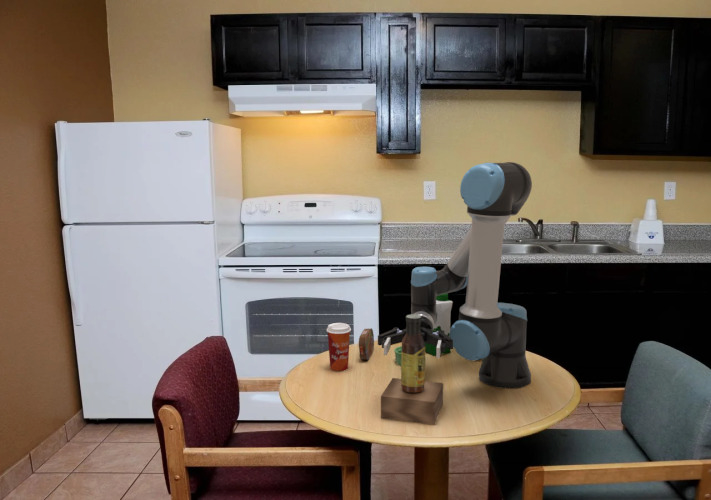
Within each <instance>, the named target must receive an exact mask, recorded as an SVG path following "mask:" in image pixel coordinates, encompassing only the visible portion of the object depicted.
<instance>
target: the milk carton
mask: <svg viewBox="0 0 711 500" xmlns="http://www.w3.org/2000/svg"><path fill="white" fill-rule="evenodd" d="M453 303H454V302H453V301H452V300H450V299H449V293H446V294H442V295H439V296H436V312H437V321H436V323H435V325H434V329H433V332H437V331H438V330H443V333H445V334H446V335H447V336H449V337H450V329H451V311H452V308H453ZM436 348H437V347H436V346H434V345H432V344H426V343H425V353H427V354H430V355H431V356H433V357H436ZM451 350H452V349H448V348H446V349H445V352H441V353H440V355H444V354H445V355H446V354H450V353H452V352H451Z"/></svg>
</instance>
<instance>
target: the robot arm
mask: <svg viewBox="0 0 711 500" xmlns="http://www.w3.org/2000/svg"><path fill="white" fill-rule="evenodd" d="M459 187H460V188H459V190H460V191H459V192H460V197H461V199H463V203H464V204H465V205H466V206H467V208H466V209H467V210H466V213H467V214H468V216H469V217H470V218H471V228H470V229H469V230H468V232H467V233H466V235H465V237H463V239H462V240H461V242H460V244H459V245H458V246H457V248H456V250H455V251H454V252H453V253H452V255H451V257H450V259H448V261H447V263H446V264H445V265H444V267H443V268H441V270H436V268H435V267H431V266H417V267H415V268H413V269H412V271H411V280H410V284H411V285H410V288H411V289H410V298H411V305H410V306H411V307H410V311H411V313H410V315H412V314H415V315H420V316H421V335H422V338H423V341H424V343H426V344H432V345H434V346H436V347H437V348H436V355H435V357H436V359H440V358H441V357H440V356H441V354H440V353H441V352H445V349H446V348H448V349H451V350H454V349H455V352H456V353H457V355H459V356H460V357H461V358H463V359H465V360H467V361H471V362H472V361H473V362H475V361H478V360H481V364H480V365H479V366H480V367H479V368H478V369H479V370H478V379H479V381H480V382H482V383H483V384H485V385H487V386H491V387H494V388H498V389H512V390H513V389H521V388H524V387H528V386H529V385H530V384H531V382H532V381H531V379H532V373H531V370H530V367H529V363H528V360H527V355H526V354H527V353H526V349H527V348H526V345H527V327H528V326H527V325H528V317H527V309H526V308H525V307H524V306H521V305H518V304H513V303H507V302H506V303H505V302H498V299H499V289H500V276H501V265H502V257H503V256H502V255H503V254H502V253H503V246H504V244H503V242H504V235H505V234H504V233H505V225H506V223H507V222H508V221H509V220H510V218H511V217H513V216H517V214H518V213H519V212H520V210H522V209H523V206H524V205H525V204H526V202H527V200H528V199H529V197H530V194H531V192H532V189H533V188H532V187H533V181H532V177H531V175H530V172H529V171H528V170H527V168H525V167H524V166H523V165H522V164H519V163H517V162H511V161H508V162H485V163H480V164H476V165H474V166H472V167H471V168H470V169H468V170H467V171H466V172H465V173H464V175H463V176H462V179H461V182H460V186H459ZM465 288H466V294H465V295H466V296H465V303H464V304H462V305H461V306H460V307H459V311H458V312H459V313H458V320H456V321H455V322H454V323H453V324H452V326H450V337H449V336H447V335H446V334H445V333H443V330H438V331H437V332H433V329H434V325H435V323H436V321H437V312H436V296H439V295H442V294H446V293H447V294H449V293H453V292H458V291H460V290H462V289H465ZM405 334H406V328H404V329H402V330H400V329H399V327H398V326H396V327H393V328H392V329H391V330H388V331H386V332H384V333H381V334H379V335H377V345H378V346H381V348H382V349H383V356H388V353H389V351H390V349H391V346H394V345H397V344H402V339H403V337H404V336H405Z"/></svg>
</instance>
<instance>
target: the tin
mask: <svg viewBox="0 0 711 500" xmlns="http://www.w3.org/2000/svg"><path fill="white" fill-rule="evenodd" d="M374 347H375V337H374V330H373V328H364V329H363V330H362V332H361V333H360V335H359V338H358V349H359V359H360V360H367V361H369V360H370V358H371V357H372V354H373V353H374Z"/></svg>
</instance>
